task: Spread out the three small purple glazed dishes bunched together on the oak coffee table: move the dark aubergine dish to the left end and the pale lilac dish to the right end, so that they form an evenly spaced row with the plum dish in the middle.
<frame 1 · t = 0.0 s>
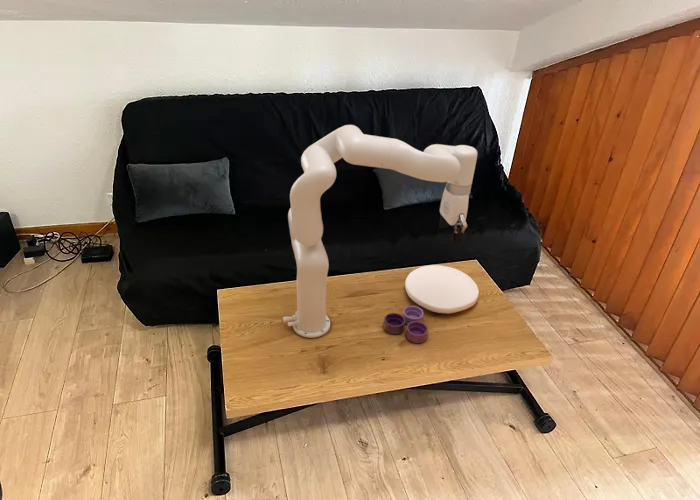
hand: (449, 234, 159), 31 cm above the table, tool pointing down, fingers open, 9 cm apart
plum dish: (416, 336, 163), on the table
aubergine dish: (393, 328, 166), on the table
lilac dish: (412, 320, 170), on the table
plate: (440, 294, 183), on the table
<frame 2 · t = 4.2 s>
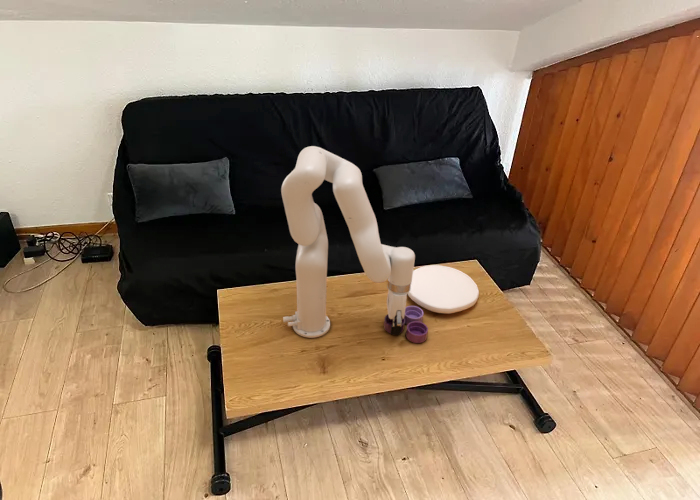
hand: (394, 325, 166), 1 cm above the table, tool pointing down, fingers closed on aubergine dish, 7 cm apart
aubergine dish: (393, 328, 166), on the table, touching gripper
everything else where it was.
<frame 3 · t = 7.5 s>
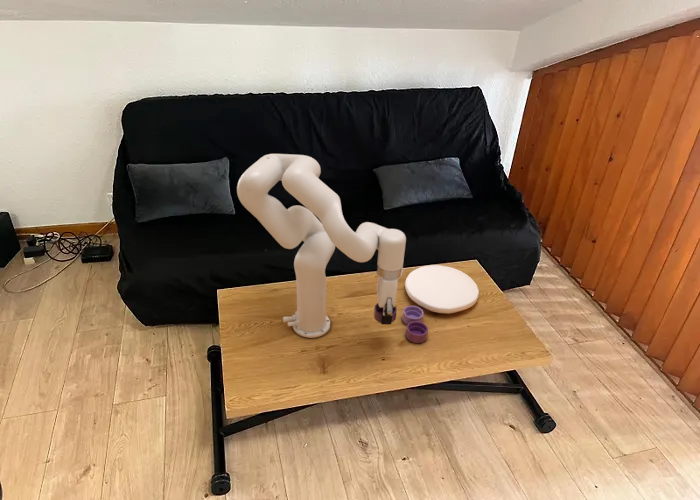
hand: (384, 315, 155), 11 cm above the table, tool pointing down, fingers closed on aubergine dish, 7 cm apart
aubergine dish: (384, 317, 155), point 10 cm above the table, touching gripper
everything else where it was.
when the fingers open (1 cm above the table, at t = 10.8 s): aubergine dish stays where it is, on the table.
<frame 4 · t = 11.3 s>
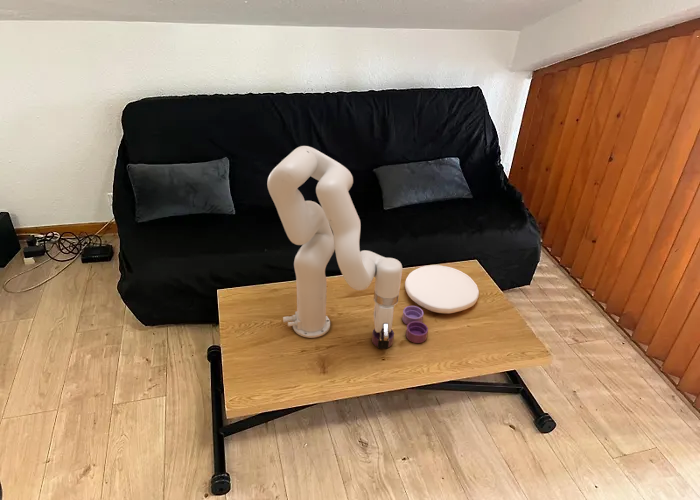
hand: (381, 337, 160), 2 cm above the table, tool pointing down, fingers open, 9 cm apart
aubergine dish: (382, 341, 161), on the table
everything else where it was.
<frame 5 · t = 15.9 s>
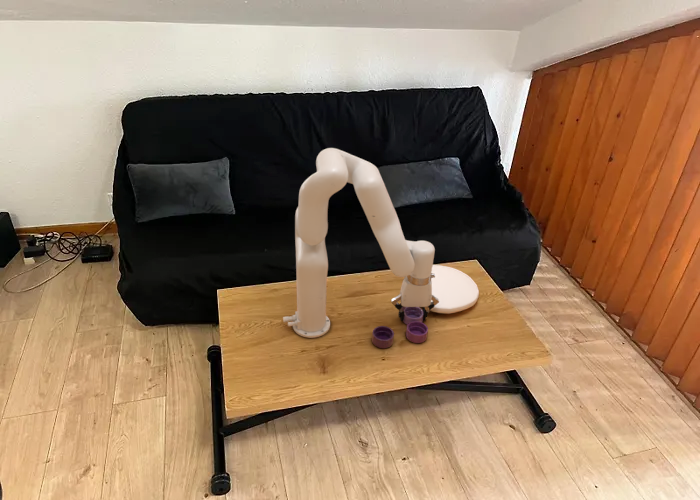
hand: (412, 318, 170), 1 cm above the table, tool pointing down, fingers closed on lilac dish, 7 cm apart
lilac dish: (412, 320, 170), on the table, touching gripper
everything else where it was.
when the fingers open (1 cm above the table, at t = 23.0 s): lilac dish stays where it is, on the table.
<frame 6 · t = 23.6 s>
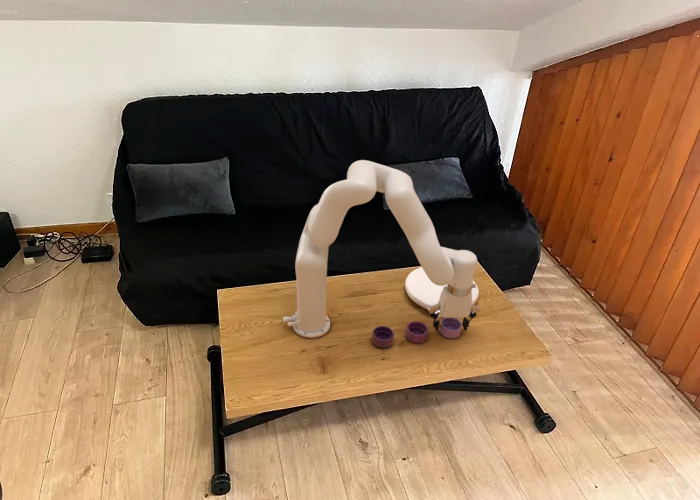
hand: (450, 327, 165), 2 cm above the table, tool pointing down, fingers open, 9 cm apart
lilac dish: (449, 332, 166), on the table
everything else where it was.
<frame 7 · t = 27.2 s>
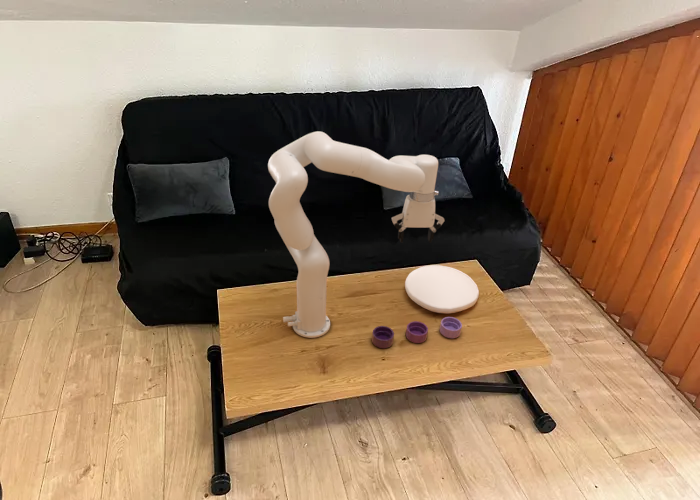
hand: (415, 240, 164), 26 cm above the table, tool pointing down, fingers open, 9 cm apart
nothing on the table moved.
at the end: aubergine dish inside the target area (0.3 cm from its centre), on the table; lilac dish inside the target area (0.1 cm from its centre), on the table; plum dish moved 0.0 cm from its start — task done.
